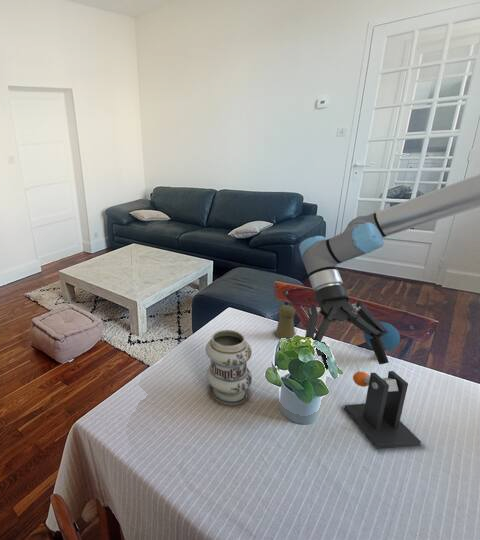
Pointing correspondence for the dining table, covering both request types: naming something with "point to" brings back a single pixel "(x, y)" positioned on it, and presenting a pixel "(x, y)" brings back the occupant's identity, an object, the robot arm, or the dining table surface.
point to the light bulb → (386, 337)
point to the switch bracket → (383, 414)
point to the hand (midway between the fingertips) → (356, 366)
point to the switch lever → (364, 378)
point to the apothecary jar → (228, 366)
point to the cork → (286, 322)
